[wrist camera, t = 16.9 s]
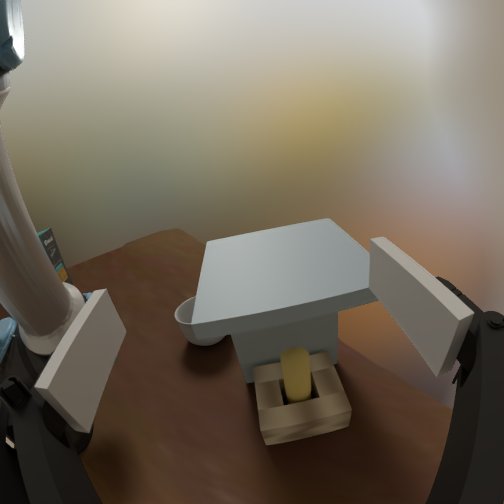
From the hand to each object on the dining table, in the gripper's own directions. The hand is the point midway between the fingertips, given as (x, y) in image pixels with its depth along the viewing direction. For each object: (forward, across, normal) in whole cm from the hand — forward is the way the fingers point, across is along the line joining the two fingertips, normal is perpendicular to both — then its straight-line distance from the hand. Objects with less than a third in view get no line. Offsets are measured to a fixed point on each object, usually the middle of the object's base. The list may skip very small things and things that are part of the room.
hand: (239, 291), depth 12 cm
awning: (+12, +4, -31) cm, 33 cm away
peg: (+12, +4, -31) cm, 33 cm away
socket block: (+12, +4, -31) cm, 33 cm away
